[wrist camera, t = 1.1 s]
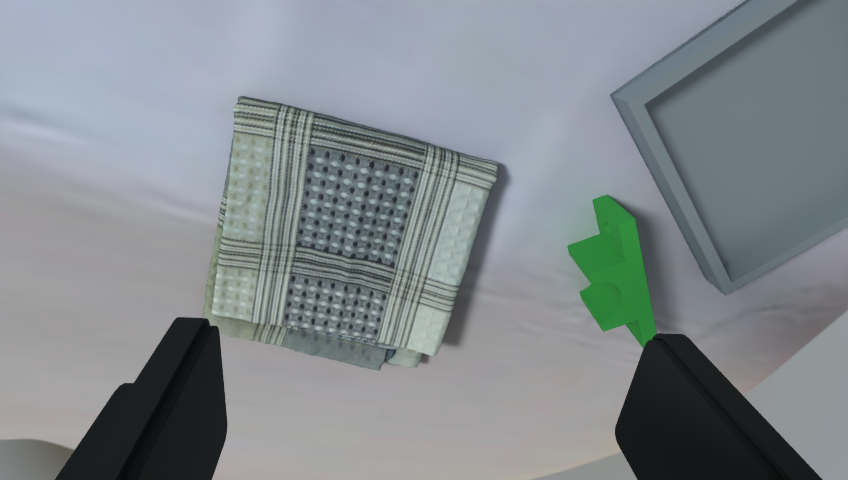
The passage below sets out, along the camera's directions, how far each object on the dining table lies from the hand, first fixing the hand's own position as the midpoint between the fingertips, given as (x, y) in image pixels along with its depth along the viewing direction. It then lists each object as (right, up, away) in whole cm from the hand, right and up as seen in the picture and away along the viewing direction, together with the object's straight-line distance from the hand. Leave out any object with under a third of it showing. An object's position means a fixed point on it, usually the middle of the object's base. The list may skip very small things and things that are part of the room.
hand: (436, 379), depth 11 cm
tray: (+24, +11, +24) cm, 35 cm away
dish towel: (-6, +3, +26) cm, 27 cm away
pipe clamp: (+13, +1, +28) cm, 31 cm away
